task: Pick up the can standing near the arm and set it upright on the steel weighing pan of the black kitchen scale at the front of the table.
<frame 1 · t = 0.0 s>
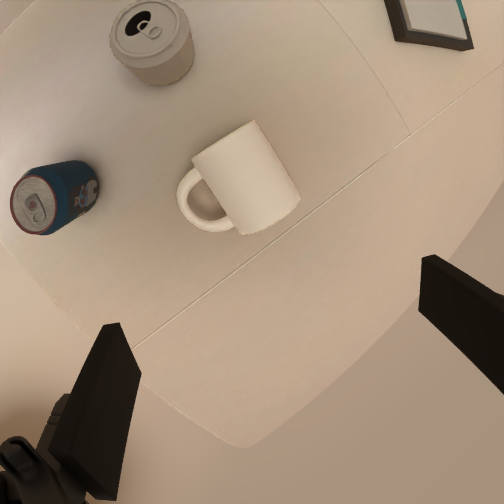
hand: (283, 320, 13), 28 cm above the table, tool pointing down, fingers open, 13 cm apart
soda can: (78, 186, 36), on the table
scale: (419, 1, 31), on the table
can: (164, 58, 32), on the table
white coffee cup: (229, 182, 38), on the table
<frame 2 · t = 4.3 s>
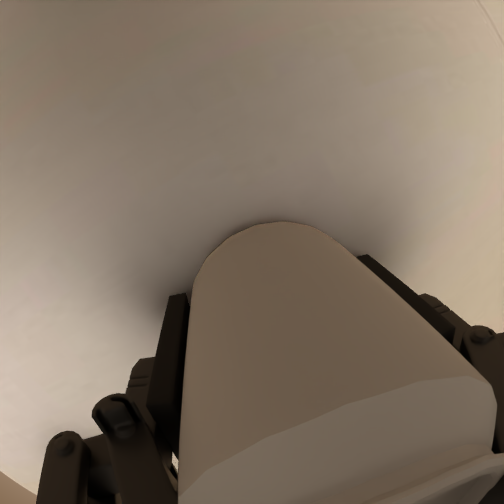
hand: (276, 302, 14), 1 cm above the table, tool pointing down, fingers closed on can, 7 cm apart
can: (272, 294, 15), on the table, touching gripper
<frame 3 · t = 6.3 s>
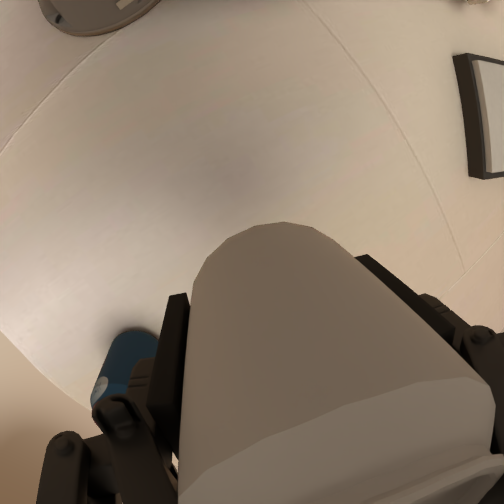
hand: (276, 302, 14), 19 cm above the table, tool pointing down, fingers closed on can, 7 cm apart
soda can: (140, 348, 36), on the table
scale: (494, 116, 31), on the table
can: (272, 294, 15), point 18 cm above the table, touching gripper
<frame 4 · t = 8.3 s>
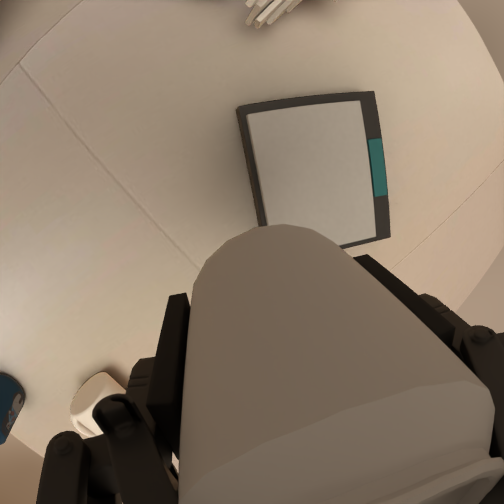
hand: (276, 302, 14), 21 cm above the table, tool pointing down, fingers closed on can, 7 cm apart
soda can: (10, 386, 38), on the table
scale: (315, 172, 33), on the table
can: (272, 296, 15), point 20 cm above the table, touching gripper
white coffee cup: (111, 399, 40), on the table
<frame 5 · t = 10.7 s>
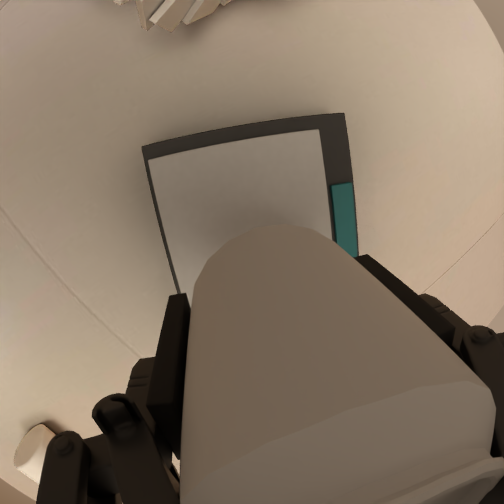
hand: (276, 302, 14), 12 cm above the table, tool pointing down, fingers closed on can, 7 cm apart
scale: (259, 227, 25), on the table
can: (273, 296, 15), point 11 cm above the table, touching gripper
white coffee cup: (57, 447, 32), on the table
when the fingers open (5 cm above the table, at t = 12.8 s): can stays where it is, resting on scale.
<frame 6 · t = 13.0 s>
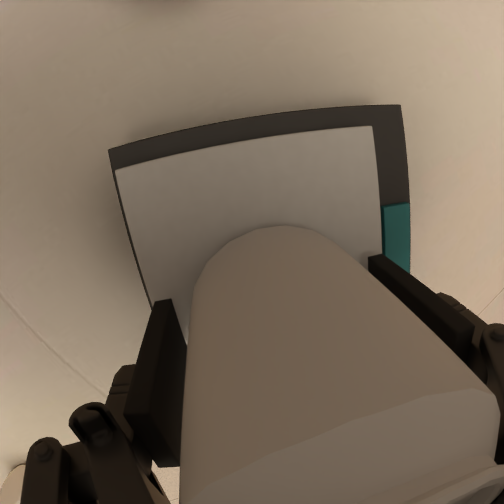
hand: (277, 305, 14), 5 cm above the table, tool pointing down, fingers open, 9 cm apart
scale: (277, 261, 19), on the table
can: (274, 298, 15), point 4 cm above the table, touching scale
white coffee cup: (44, 486, 25), on the table
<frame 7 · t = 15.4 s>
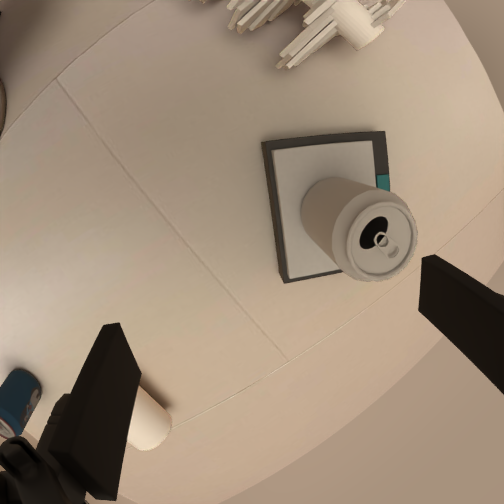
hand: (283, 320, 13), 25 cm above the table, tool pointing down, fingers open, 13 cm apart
soda can: (27, 381, 42), on the table
scale: (328, 201, 37), on the table
can: (331, 210, 34), point 4 cm above the table, touching scale
white coffee cup: (126, 397, 44), on the table
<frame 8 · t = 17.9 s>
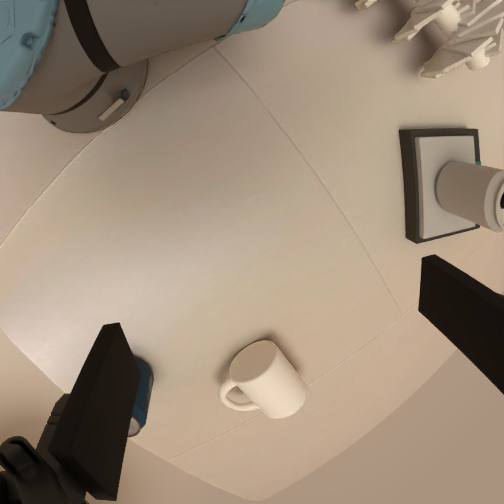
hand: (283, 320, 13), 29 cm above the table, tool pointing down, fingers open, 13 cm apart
soda can: (133, 369, 46), on the table
scale: (439, 180, 42), on the table
can: (450, 186, 38), point 4 cm above the table, touching scale
spiral staircase: (390, 9, 33), on the table
white coffee cup: (254, 369, 49), on the table
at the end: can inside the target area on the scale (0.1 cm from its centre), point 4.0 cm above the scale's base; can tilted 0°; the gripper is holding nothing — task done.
